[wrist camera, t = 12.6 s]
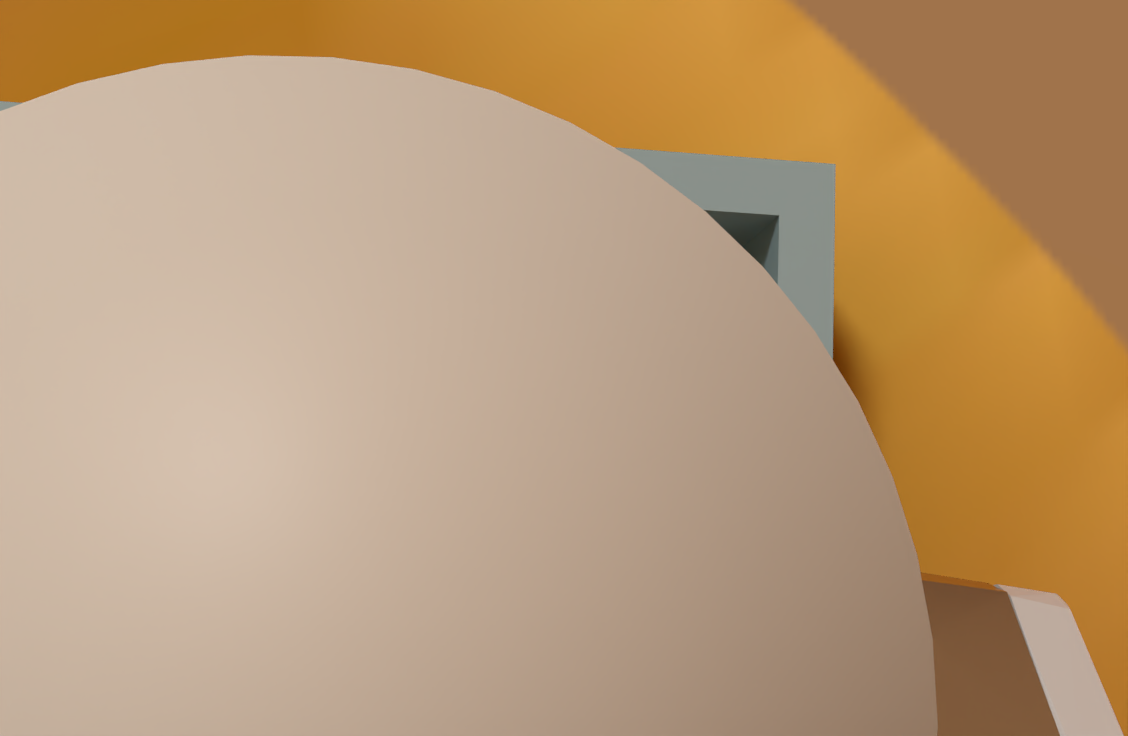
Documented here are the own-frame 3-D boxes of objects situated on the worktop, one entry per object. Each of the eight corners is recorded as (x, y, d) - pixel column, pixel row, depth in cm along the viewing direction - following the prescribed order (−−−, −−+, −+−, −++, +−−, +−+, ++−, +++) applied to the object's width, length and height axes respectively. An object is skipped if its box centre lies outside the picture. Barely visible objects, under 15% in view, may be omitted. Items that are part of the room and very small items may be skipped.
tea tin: (606, 375, 17) (939, 106, 5) (590, 760, 16) (936, 1445, 4) (226, 354, 16) (-348, 1, 5) (192, 752, 15) (-587, 1505, 4)
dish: (773, 218, 18) (835, 163, 15) (758, 942, 17) (823, 1039, 14) (63, 168, 17) (-21, 99, 14) (-17, 936, 16) (-130, 1041, 13)
